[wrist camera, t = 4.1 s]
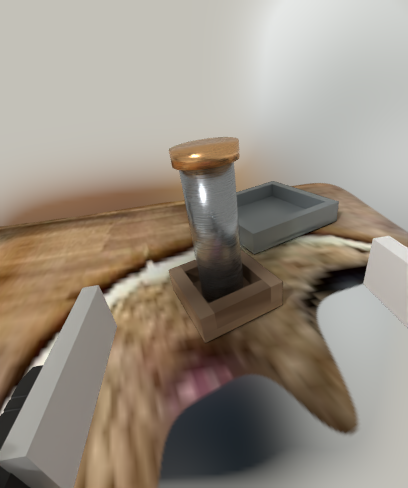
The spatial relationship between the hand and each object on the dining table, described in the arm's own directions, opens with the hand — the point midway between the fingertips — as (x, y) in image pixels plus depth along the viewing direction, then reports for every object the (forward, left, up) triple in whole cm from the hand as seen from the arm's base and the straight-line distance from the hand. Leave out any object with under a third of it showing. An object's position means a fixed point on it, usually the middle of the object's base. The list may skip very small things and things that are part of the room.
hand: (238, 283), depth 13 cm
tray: (-17, +14, -7) cm, 23 cm away
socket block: (-7, +2, -7) cm, 10 cm away
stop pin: (-7, +2, -7) cm, 10 cm away
